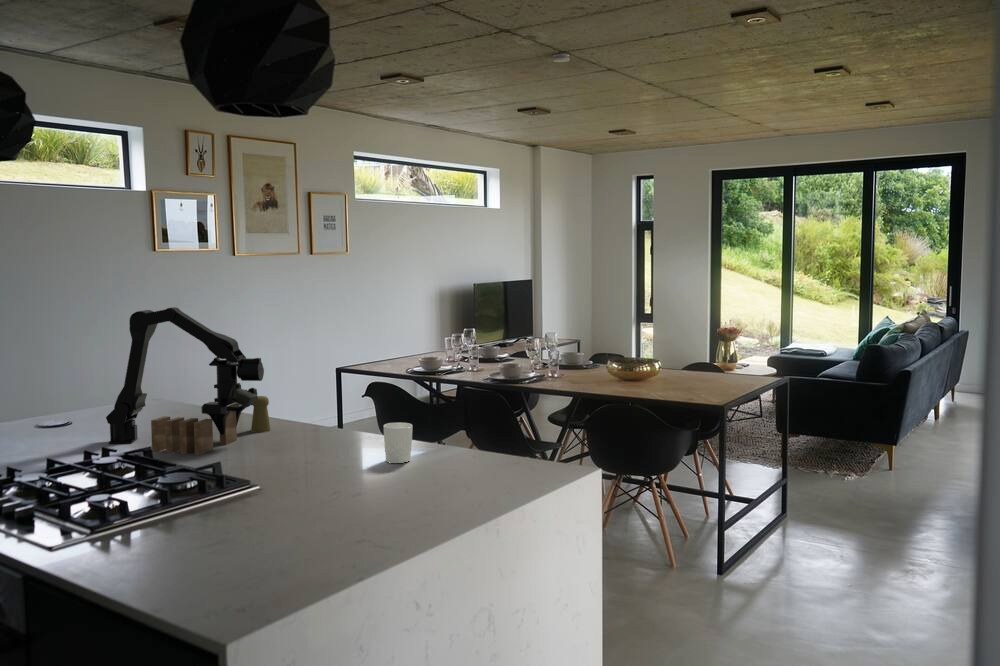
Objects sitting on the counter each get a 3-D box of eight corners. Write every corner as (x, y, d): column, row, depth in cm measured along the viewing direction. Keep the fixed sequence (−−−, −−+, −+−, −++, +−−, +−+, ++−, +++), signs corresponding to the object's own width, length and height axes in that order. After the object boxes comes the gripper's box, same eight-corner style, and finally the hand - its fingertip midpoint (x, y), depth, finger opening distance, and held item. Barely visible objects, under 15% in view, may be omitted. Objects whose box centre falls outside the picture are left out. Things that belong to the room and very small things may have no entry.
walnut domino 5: (219, 444, 236) (219, 414, 235) (230, 439, 242) (230, 410, 241) (226, 444, 236) (225, 414, 235) (236, 440, 241) (236, 410, 241)
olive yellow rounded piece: (267, 432, 252) (266, 398, 251) (248, 432, 252) (247, 397, 251) (273, 428, 258) (272, 394, 257) (254, 428, 258) (253, 394, 257)
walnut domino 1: (152, 451, 227) (151, 420, 226) (165, 446, 233) (164, 416, 232) (158, 451, 226) (157, 420, 225) (171, 447, 232) (170, 416, 231)
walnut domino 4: (194, 454, 224) (193, 422, 223) (206, 449, 230) (206, 418, 229) (201, 454, 224) (200, 423, 223) (213, 449, 229) (212, 419, 229)
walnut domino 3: (180, 453, 225) (179, 422, 224) (192, 448, 231) (191, 417, 230) (186, 453, 225) (185, 422, 224) (199, 448, 230) (198, 418, 229)
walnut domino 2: (166, 452, 226) (165, 421, 225) (178, 447, 232) (178, 417, 231) (172, 452, 225) (171, 421, 225) (185, 447, 231) (184, 417, 230)
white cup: (377, 462, 217) (377, 426, 216) (394, 456, 224) (394, 421, 223) (401, 466, 214) (401, 429, 213) (418, 459, 221) (418, 424, 220)
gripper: (235, 386, 226) (236, 440, 228) (267, 377, 244) (268, 427, 246) (199, 385, 228) (201, 438, 230) (234, 375, 247) (235, 425, 248)
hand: (228, 432), depth 238 cm, fingers closed on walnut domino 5, 6 cm apart
